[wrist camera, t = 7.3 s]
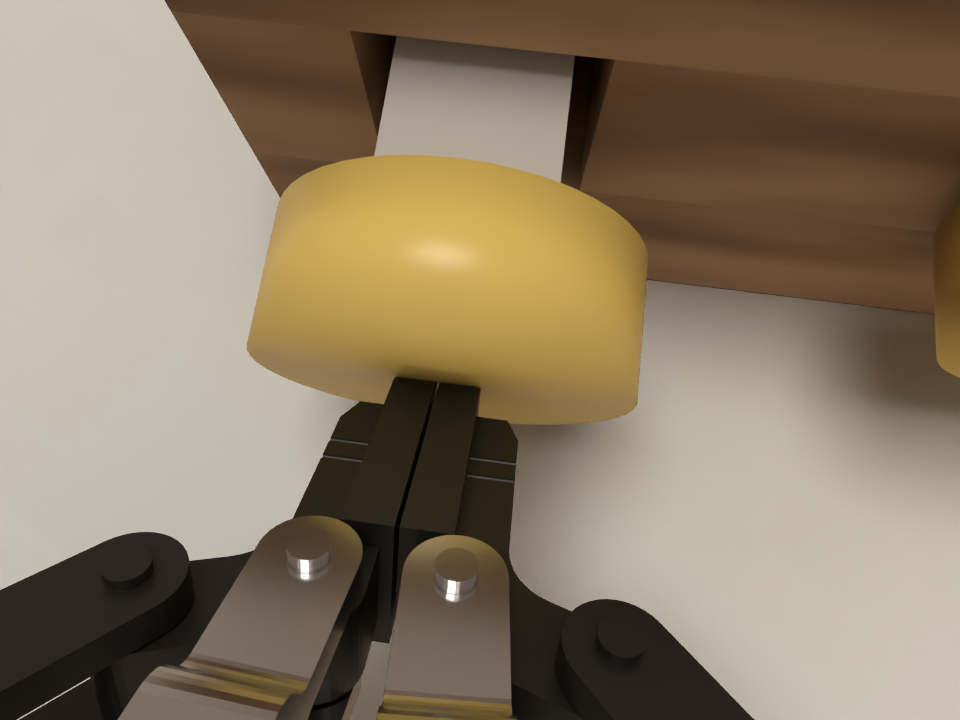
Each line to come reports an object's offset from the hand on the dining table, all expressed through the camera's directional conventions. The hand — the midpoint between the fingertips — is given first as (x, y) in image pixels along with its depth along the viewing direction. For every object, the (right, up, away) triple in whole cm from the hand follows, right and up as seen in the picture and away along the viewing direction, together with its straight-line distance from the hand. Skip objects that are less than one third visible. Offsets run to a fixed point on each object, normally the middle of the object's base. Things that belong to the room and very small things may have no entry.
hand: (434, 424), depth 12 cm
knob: (+1, +7, +4) cm, 8 cm away
